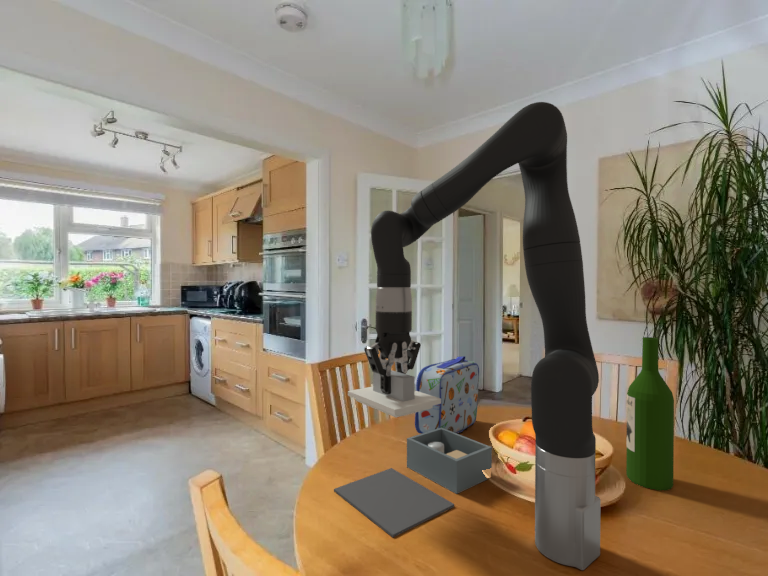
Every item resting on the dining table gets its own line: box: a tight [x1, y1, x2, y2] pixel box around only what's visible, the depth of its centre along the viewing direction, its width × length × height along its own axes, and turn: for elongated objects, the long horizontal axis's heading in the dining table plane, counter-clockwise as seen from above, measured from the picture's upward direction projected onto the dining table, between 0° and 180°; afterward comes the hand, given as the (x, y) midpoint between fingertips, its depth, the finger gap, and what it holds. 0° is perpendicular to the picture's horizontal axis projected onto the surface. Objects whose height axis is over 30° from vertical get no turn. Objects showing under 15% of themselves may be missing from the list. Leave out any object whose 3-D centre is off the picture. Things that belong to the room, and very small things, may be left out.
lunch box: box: [414, 355, 480, 434], centre depth 123 cm, size 28×10×22 cm, turn 143°
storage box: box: [406, 428, 493, 495], centre depth 95 cm, size 16×12×7 cm
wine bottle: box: [625, 336, 675, 491], centre depth 91 cm, size 9×9×32 cm
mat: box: [333, 467, 455, 538], centre depth 83 cm, size 20×16×1 cm
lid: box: [347, 369, 441, 418], centre depth 83 cm, size 16×12×6 cm
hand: (393, 391), depth 83 cm, fingers closed on lid, 3 cm apart
